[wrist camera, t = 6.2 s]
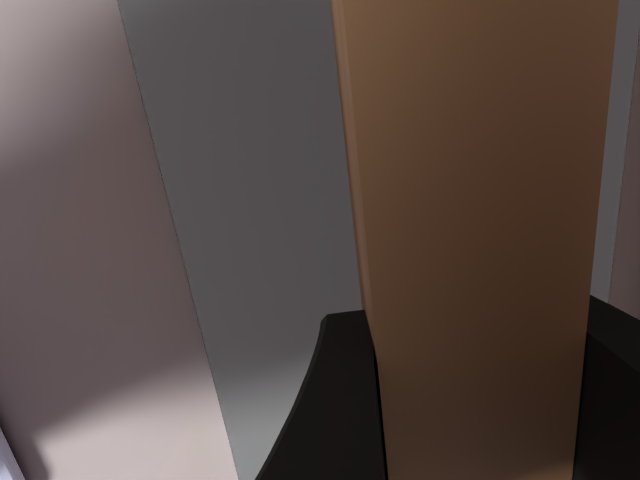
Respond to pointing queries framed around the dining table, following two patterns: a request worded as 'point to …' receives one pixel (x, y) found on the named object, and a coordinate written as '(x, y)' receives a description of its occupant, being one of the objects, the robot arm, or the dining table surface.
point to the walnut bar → (476, 222)
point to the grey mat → (281, 186)
